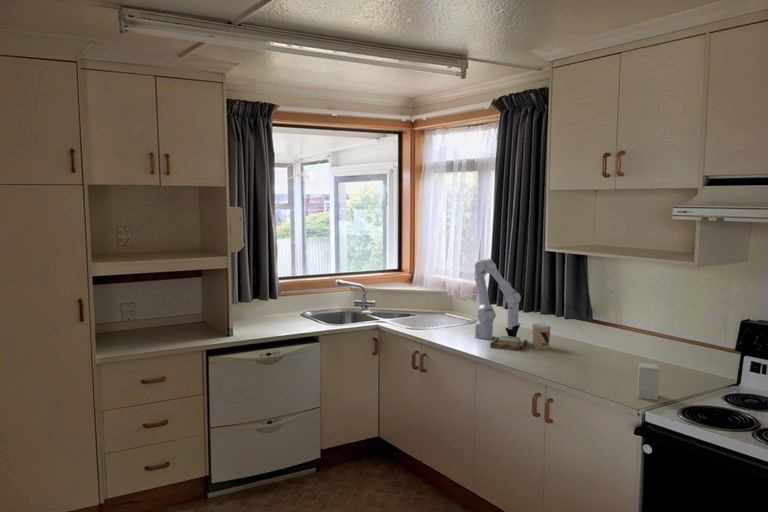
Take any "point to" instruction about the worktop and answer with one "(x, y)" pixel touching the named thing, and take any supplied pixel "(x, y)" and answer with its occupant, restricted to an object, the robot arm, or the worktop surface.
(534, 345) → the coffee cup
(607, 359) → the worktop surface
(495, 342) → the wooden tray
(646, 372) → the supplement box
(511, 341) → the green block
